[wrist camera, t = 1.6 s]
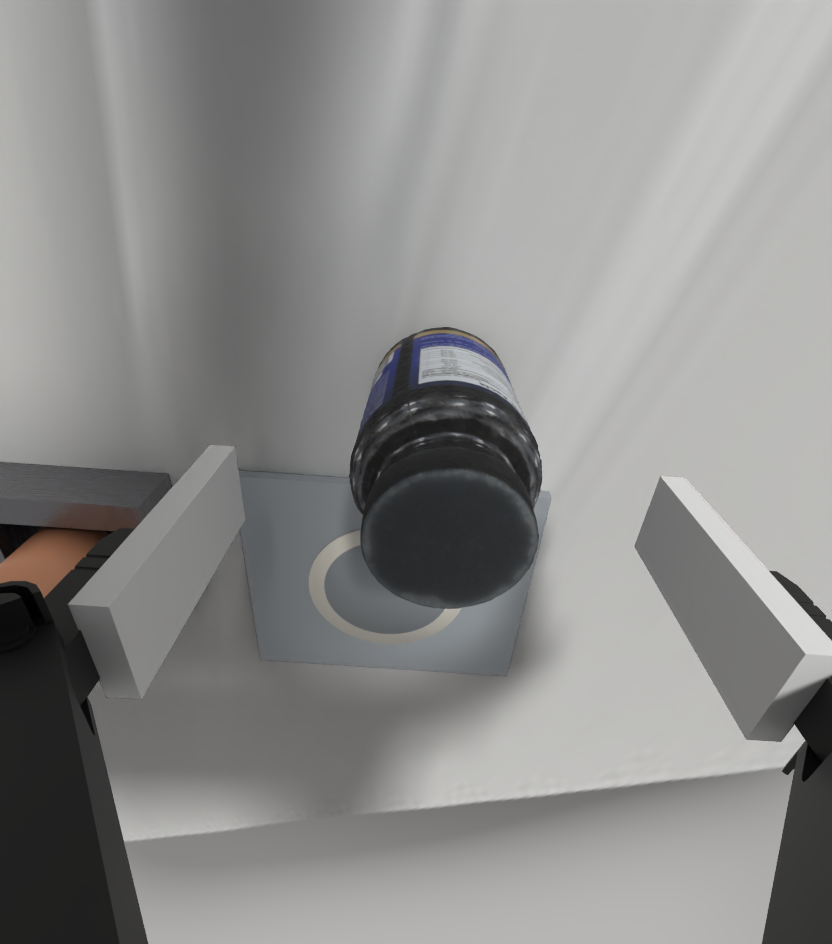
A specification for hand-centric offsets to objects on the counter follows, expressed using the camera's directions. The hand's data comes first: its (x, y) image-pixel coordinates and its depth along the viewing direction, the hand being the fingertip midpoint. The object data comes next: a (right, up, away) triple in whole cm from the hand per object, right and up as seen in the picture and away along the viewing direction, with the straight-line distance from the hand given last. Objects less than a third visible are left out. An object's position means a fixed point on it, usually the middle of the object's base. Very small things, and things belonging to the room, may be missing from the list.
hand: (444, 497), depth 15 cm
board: (-2, -6, +13) cm, 14 cm away
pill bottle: (0, +5, +7) cm, 8 cm away
